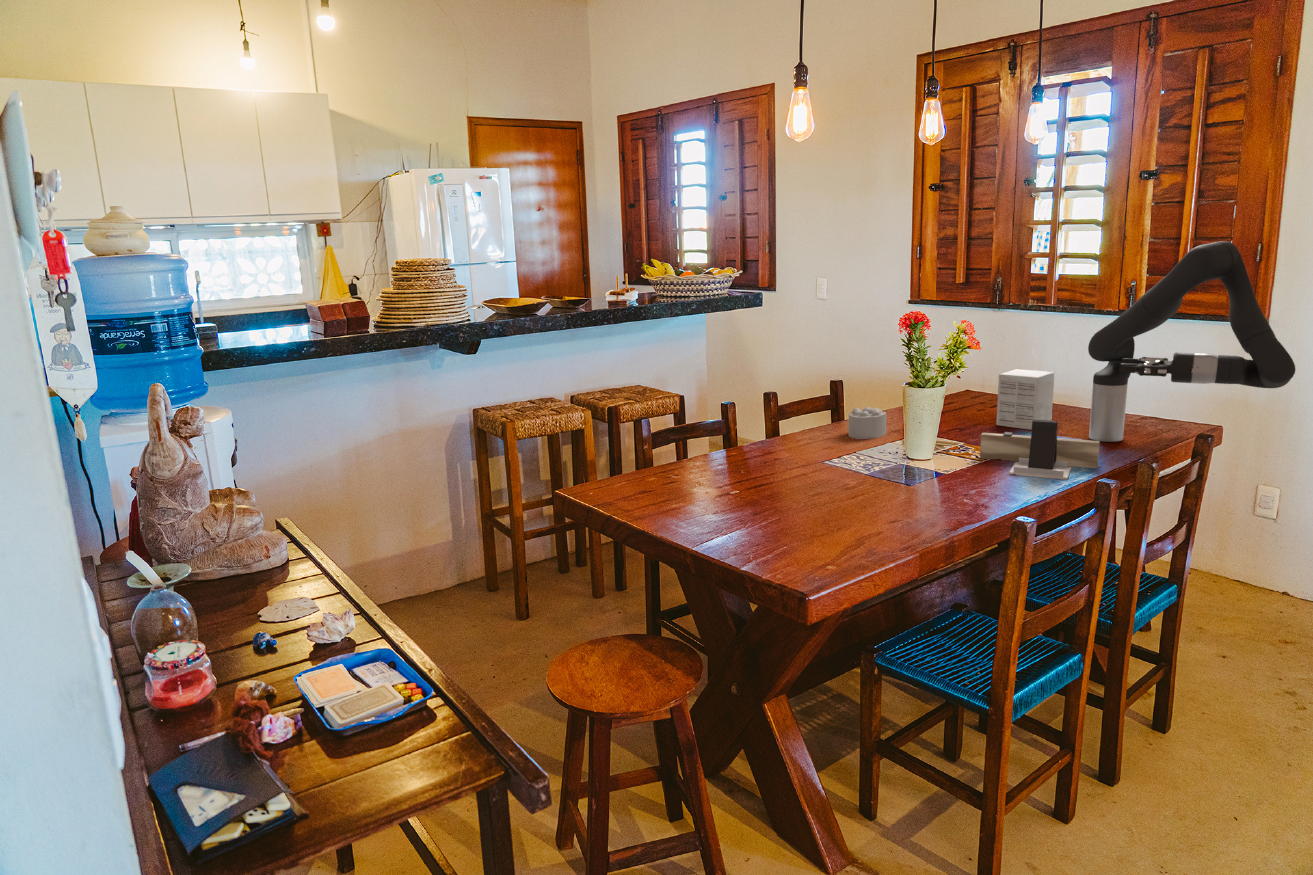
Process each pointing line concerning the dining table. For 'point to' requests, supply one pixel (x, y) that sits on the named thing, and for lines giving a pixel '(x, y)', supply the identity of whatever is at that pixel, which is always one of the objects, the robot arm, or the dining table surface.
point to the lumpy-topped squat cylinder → (867, 423)
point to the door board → (1019, 447)
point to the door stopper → (1043, 444)
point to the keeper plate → (1041, 470)
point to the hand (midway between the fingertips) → (1120, 365)
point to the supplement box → (1024, 398)
